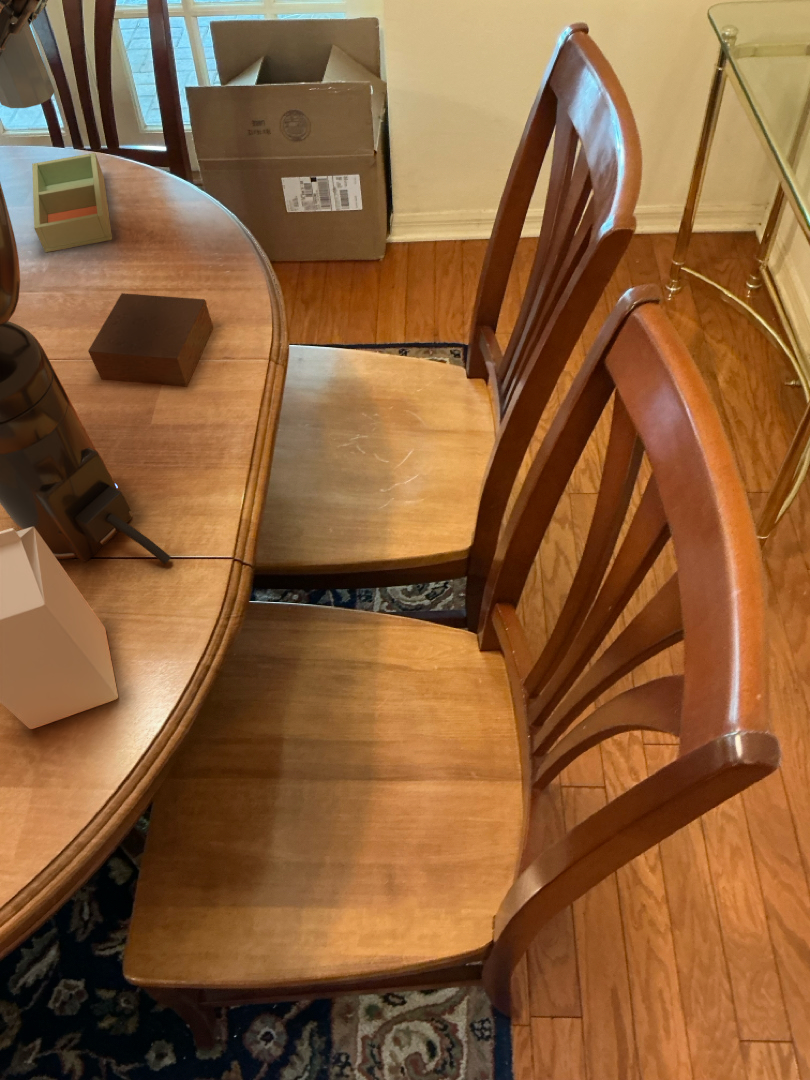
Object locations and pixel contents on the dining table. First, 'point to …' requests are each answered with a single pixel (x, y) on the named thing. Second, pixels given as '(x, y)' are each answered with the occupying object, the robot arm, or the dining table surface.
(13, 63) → the cup
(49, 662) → the milk carton
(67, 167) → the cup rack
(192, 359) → the brown square block
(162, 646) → the dining table surface
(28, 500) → the robot arm
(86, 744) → the dining table surface
